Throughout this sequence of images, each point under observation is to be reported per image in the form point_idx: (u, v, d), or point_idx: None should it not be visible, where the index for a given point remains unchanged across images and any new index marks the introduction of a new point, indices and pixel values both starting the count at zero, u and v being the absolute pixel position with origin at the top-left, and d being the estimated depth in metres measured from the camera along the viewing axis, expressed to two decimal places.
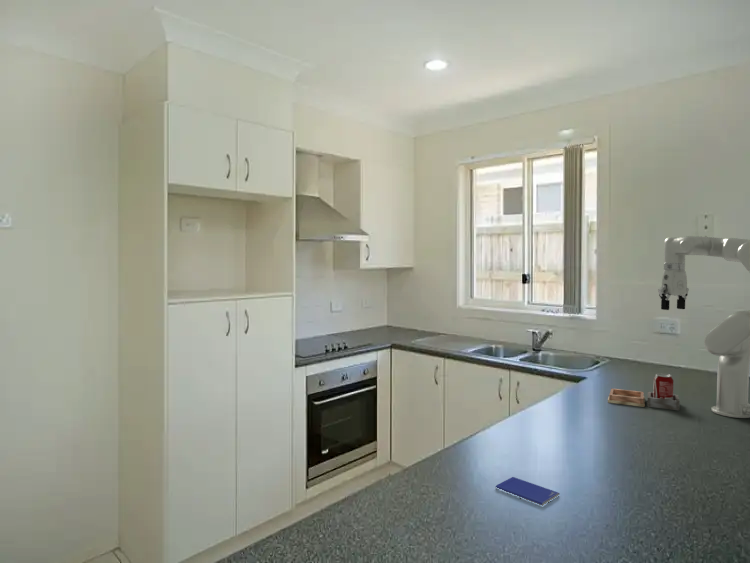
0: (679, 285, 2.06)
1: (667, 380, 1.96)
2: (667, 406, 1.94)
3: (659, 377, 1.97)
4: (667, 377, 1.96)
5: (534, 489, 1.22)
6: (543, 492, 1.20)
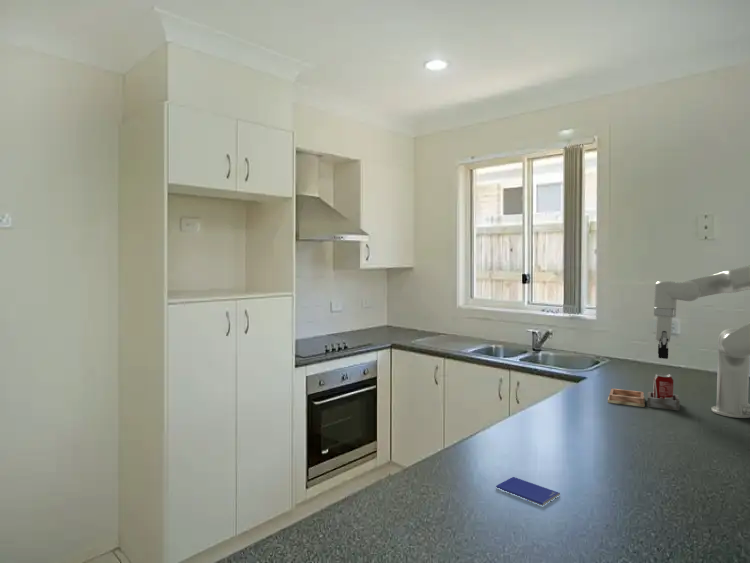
0: None
1: (667, 380, 1.96)
2: (667, 406, 1.94)
3: (659, 377, 1.97)
4: (667, 377, 1.96)
5: (535, 489, 1.22)
6: (544, 492, 1.20)
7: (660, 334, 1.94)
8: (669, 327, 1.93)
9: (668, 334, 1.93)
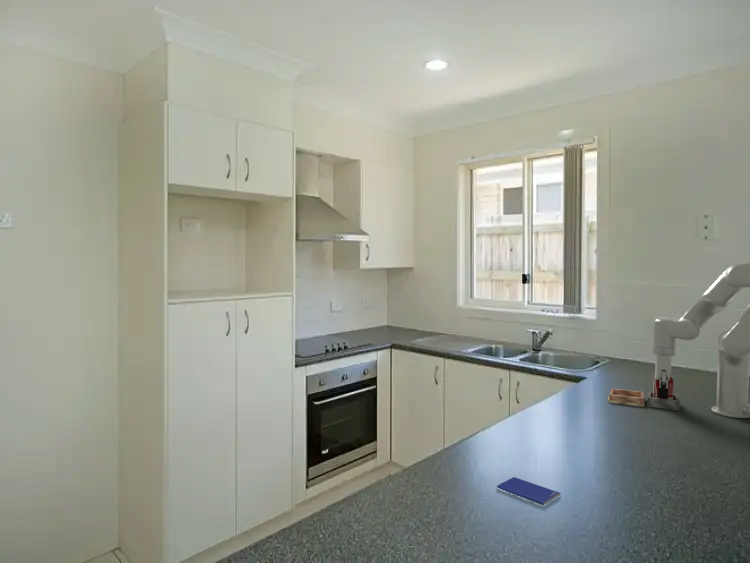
0: None
1: None
2: (667, 406, 1.94)
3: None
4: None
5: (536, 489, 1.22)
6: (544, 492, 1.20)
7: (660, 373, 1.95)
8: (669, 366, 1.94)
9: (668, 373, 1.94)
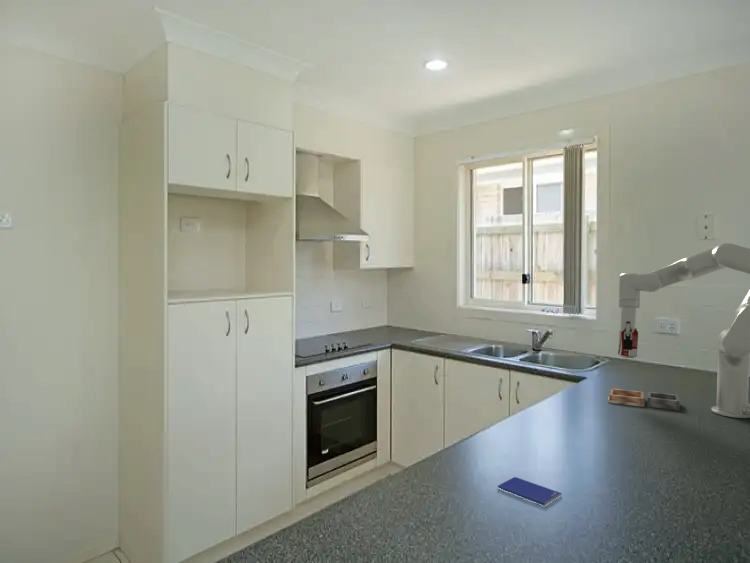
0: None
1: None
2: (667, 406, 1.94)
3: None
4: None
5: (537, 489, 1.22)
6: (545, 492, 1.20)
7: (624, 324, 2.00)
8: (633, 317, 1.99)
9: (632, 324, 1.99)
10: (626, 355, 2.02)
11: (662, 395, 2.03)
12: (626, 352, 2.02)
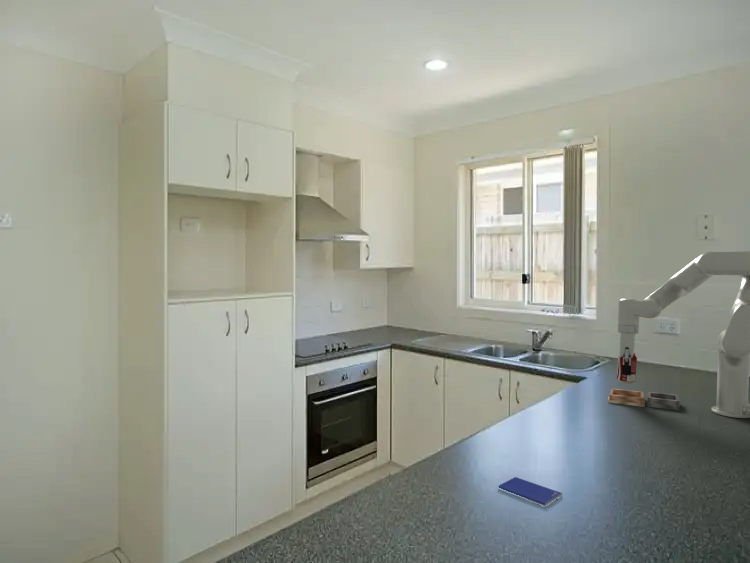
0: None
1: None
2: (667, 406, 1.94)
3: None
4: None
5: (537, 489, 1.22)
6: (546, 492, 1.20)
7: (623, 350, 2.01)
8: (632, 343, 2.00)
9: (631, 350, 2.00)
10: (625, 380, 2.02)
11: (662, 395, 2.03)
12: (625, 377, 2.02)
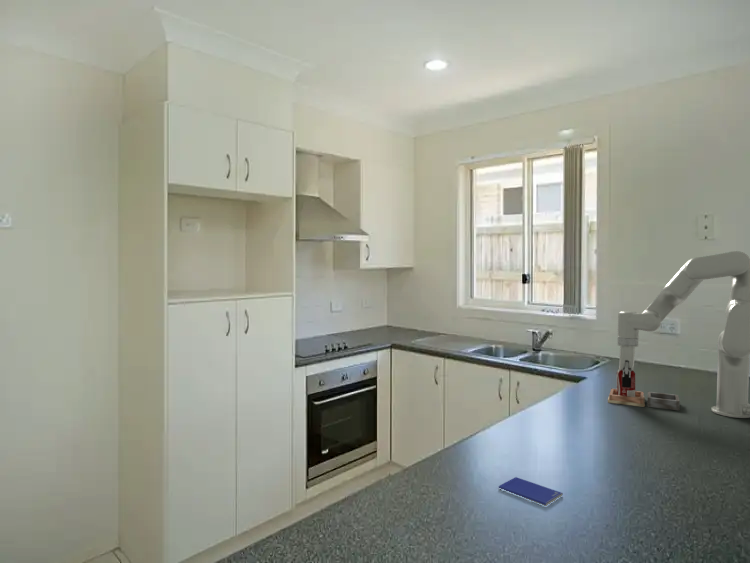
0: None
1: None
2: (667, 406, 1.94)
3: (621, 371, 2.04)
4: None
5: (538, 489, 1.22)
6: (546, 492, 1.20)
7: (623, 363, 2.01)
8: (631, 356, 2.00)
9: (630, 363, 2.00)
10: None
11: (662, 395, 2.03)
12: (625, 394, 2.02)
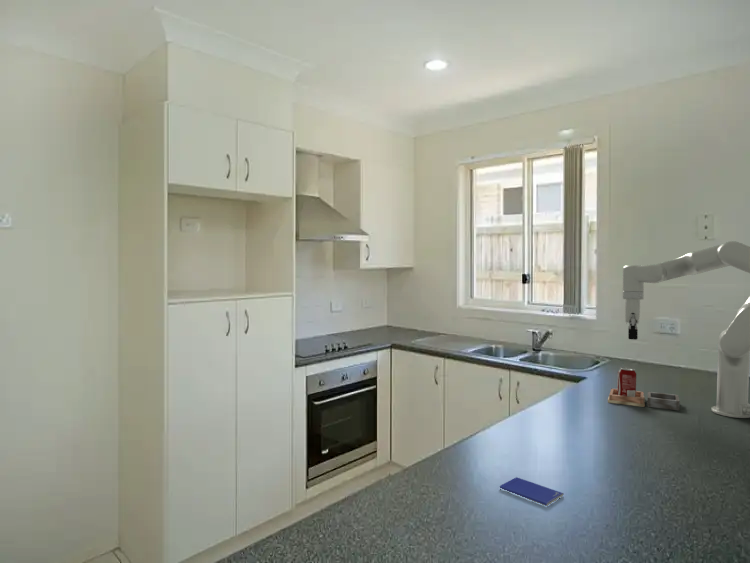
0: None
1: (629, 374, 2.02)
2: (667, 406, 1.94)
3: (622, 370, 2.04)
4: (630, 370, 2.02)
5: (538, 490, 1.22)
6: (547, 492, 1.20)
7: (629, 316, 2.02)
8: (637, 309, 2.01)
9: (637, 316, 2.01)
10: None
11: (662, 395, 2.03)
12: (625, 393, 2.02)
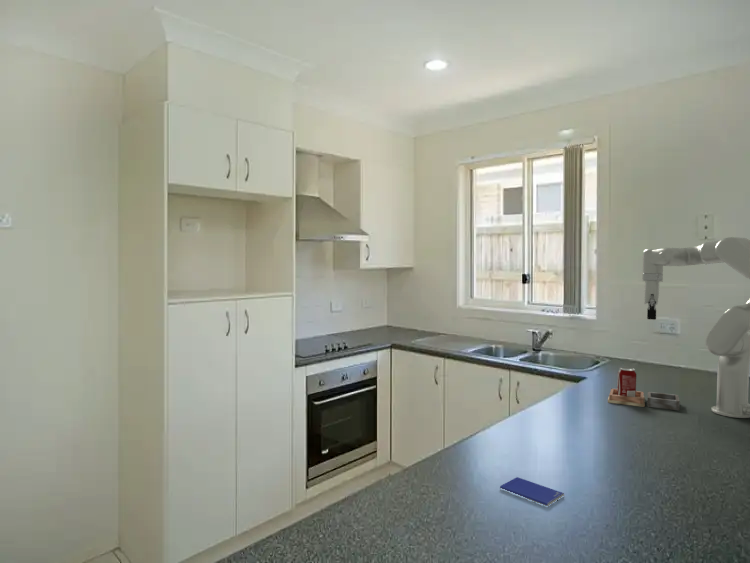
0: None
1: (629, 374, 2.02)
2: (667, 406, 1.94)
3: (622, 371, 2.04)
4: (630, 371, 2.02)
5: (539, 490, 1.22)
6: (548, 493, 1.20)
7: (648, 297, 2.11)
8: (656, 290, 2.10)
9: (656, 297, 2.10)
10: None
11: (662, 395, 2.03)
12: (625, 394, 2.02)
